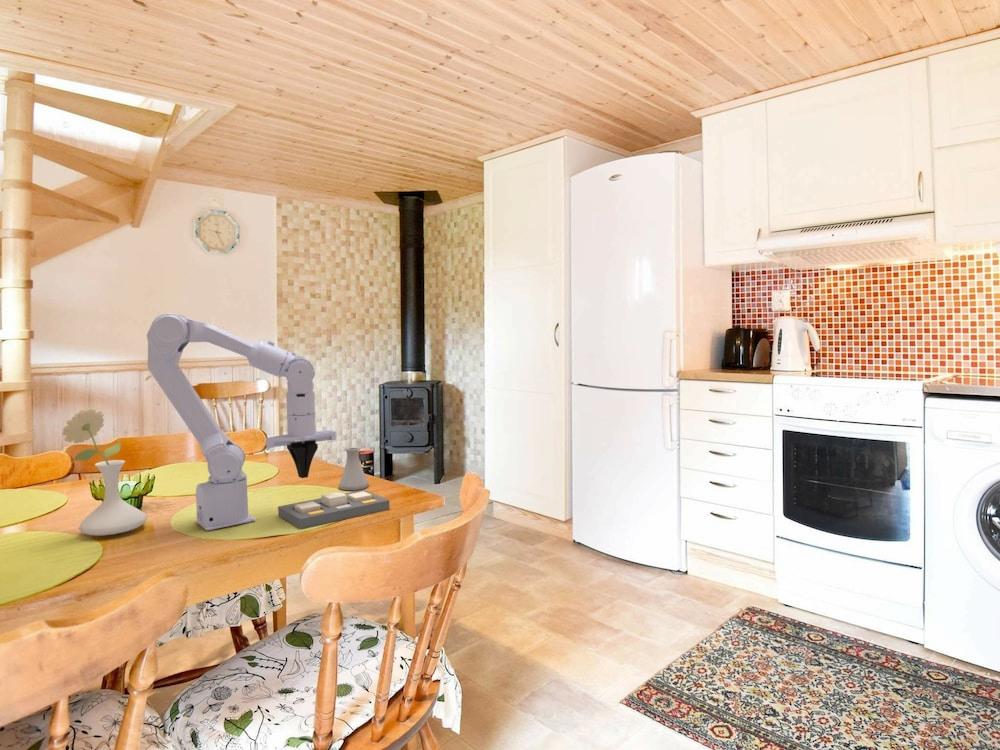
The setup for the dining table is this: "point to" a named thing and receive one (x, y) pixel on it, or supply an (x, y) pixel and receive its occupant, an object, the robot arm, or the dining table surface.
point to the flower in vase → (113, 509)
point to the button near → (307, 507)
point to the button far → (359, 496)
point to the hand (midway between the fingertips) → (303, 476)
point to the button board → (332, 511)
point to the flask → (353, 472)
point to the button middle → (334, 499)
